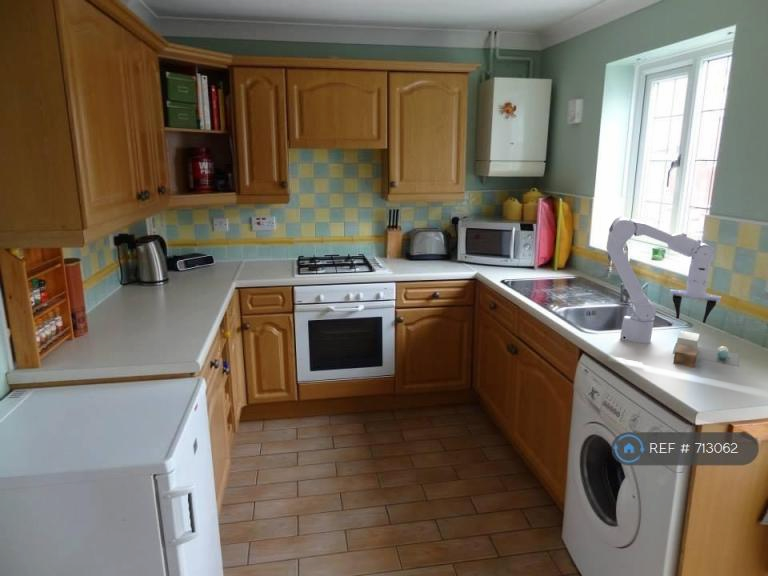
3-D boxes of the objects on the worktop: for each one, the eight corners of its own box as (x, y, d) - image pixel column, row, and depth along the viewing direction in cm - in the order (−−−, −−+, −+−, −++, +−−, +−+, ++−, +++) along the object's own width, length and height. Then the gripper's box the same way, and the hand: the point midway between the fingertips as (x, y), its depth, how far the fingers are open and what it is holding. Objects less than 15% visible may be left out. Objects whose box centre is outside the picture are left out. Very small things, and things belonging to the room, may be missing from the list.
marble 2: (716, 359, 167) (717, 350, 166) (716, 356, 169) (718, 347, 169) (727, 361, 165) (729, 352, 165) (727, 358, 168) (729, 349, 167)
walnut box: (672, 367, 163) (675, 351, 162) (675, 358, 170) (678, 343, 169) (693, 371, 160) (696, 355, 159) (695, 362, 167) (698, 347, 166)
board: (671, 356, 171) (672, 353, 171) (675, 346, 181) (676, 342, 181) (738, 369, 162) (738, 366, 162) (738, 358, 172) (739, 354, 171)
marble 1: (716, 355, 170) (718, 346, 169) (716, 352, 172) (718, 344, 172) (727, 357, 168) (729, 348, 168) (727, 355, 171) (729, 346, 170)
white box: (675, 352, 172) (677, 337, 171) (677, 344, 179) (680, 330, 178) (695, 356, 169) (697, 341, 168) (697, 348, 176) (699, 333, 175)
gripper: (671, 279, 174) (664, 318, 178) (723, 285, 167) (715, 327, 170) (673, 275, 180) (667, 313, 183) (723, 281, 172) (716, 321, 176)
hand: (690, 320), depth 177 cm, fingers open, 7 cm apart
